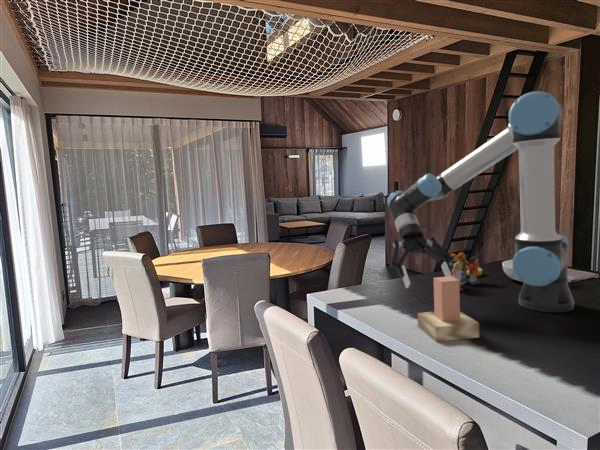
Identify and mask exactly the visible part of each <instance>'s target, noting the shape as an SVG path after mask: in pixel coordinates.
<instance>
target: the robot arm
mask: <svg viewBox="0 0 600 450" xmlns="http://www.w3.org/2000/svg"><path fill="white" fill-rule="evenodd" d="M564 113H565V112H564V108H563V106H562V104H561V102H560V101H558V100H557V99H556V97H555V96H553V95H552V94H550V93H549V92H545V91H530V92H527V93H524V94H522V95H520V96H519V97H518V98H516V100H515V101H514V102H513V103H512V104H511V106H510V109H509V111H508V125H507V127H506V128H505V129H503V130H502V131H500V132H499V133H498V134H496V135H495V136H494V137H491V138H490V139H489V140H487V141H486V142H485V143H482V145H480V146H479V147H477V148H476V149H475V150H472V152H470V153H468V154H467V155H466V156H464V157H463V158H461V159H460V160H458V161H457V162H455V163H454V164H452V165H451V166H449V167H447V169H446V170H444V171H442V172H441V173H439V174H438V175H436V176H435V175H433V174H432V173H426V174H424V175H423V176H422V177H419V178H418V180H417V181H416V182H414V183H413V184H412V185H410V186H409V187H408V188H407V189H406V190H405V191H403V190H396V191H395V192H392V193H390V194H389V195H388V197H387V202H386V203H387V205H388V210H389V212H390V215H391V218H392V219H393V223H394V226H395V229H396V231H397V233H398V237H399V239H400V241H398V240H396V239H395V240H394V242H393V245H392V247H393V251H392V252H393V253H392V256H391V261H390V264H389V268H390V269H392V270H393V269H395V271H396V272H397V274H398V277H399V278H400V279H402V280H403V283H404V286H405V288H406V289H408V288H409V287H410V285H411V281H410V278H409V275H408V272H407V269H406V266H405V265H403V264H404V263H405V260H406V259H407V258H408V256H409V254H411V255H415V254H424V255H426V256H429V257H430V258H431V259H433V260H435V261H437V262H438V263H439V264H441V266H440V267H441V270H442V272H443V275H444V277H448V276H451V277H452V275H451V271H452V269H451V267H450V263H451V261H452V260H453V257H452V256H451V255H450V254H451V253H449V252H448V251H447V250H446V249H444V248H443V247H442V246H441V245H440V244H439V242H437V240H436V239H435V237H433V236H432V237H431V238H429V239H426V238H425V236H424V233H423V230H422V228H421V226H420V223H419V221H418V218H417V216H416V213H415V211H417V210H419V209H420V208H421V207H422V206H424V205H425V204H427V202H432V201H438V200H444V199H445V198H447V197H448V196H450V193H453V191H455V190H456V189H458V188H459V187H461V186H463V185H464V184H466V183H467V182H469V181H470V180H472V179H473V178H475V177H477V176H478V175H480V174H481V173H483V172H484V171H486V170H488V169H489V168H490V167H491V168H492V166H494V165H495V164H497V163H499V162H501V161H502V160H503V159H504V158H506V157H508V156H510V155H511V154H512V153H514V152H516V151H517V150H518V162H519V163H518V167H519V170H518V171H519V176H518V177H519V208H520V209H519V210H520V216H519V217H520V232H519V233H518V234H517V235H516V236H515V238H514V239H515V241H514V242H515V243H514V244H515V248H514V249H515V250H514V251H515V254H514V256H513V258H512V260H513V262H512V266H513V270H514V273H515V274H516V276H517V277H518V278H519V279H520V280H521V281H523V282H522V283H523V285H522V288H521V290H520V292H519V295H518V304H519V305H520V306H521V307H522V308H525V309H528V310H531V311H537V312H543V313H567V312H570V311H572V310H574V308H575V300H574V297H573V294H572V292H571V289H570V287H569V284H568V255H569V254H568V249H569V241H568V237H567V236H566V235H563V234H562V235H561V234H558V233H557V232H556V199H555V198H556V196H555V194H556V192H555V189H556V187H555V185H556V184H555V145H556V144H557V143H559V142H560V141H561V125H562V122H563V120H564ZM401 247H402V248H403V250H404V252H403V253H402V255H401V257H400V259H399V260H398V262H396V261H397V257H398V255H399V249H401ZM521 281H520V282H521Z"/></svg>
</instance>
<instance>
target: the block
mask: <svg viewBox="0 0 600 450" xmlns="http://www.w3.org/2000/svg"><path fill="white" fill-rule="evenodd" d="M460 292H461V291H460ZM460 292H459V280H457V279H455V278H453V277H451V276H448V277H445V276H439V277H438V276H437V277H433V306H434V307H433V308H434V309H433V310H434V316H436V317H437V318H438V319H440V320H441V321H452V320H460V312H461V309H460V308H461V306H460V305H461V304H460V303H461V300H460V297H461V294H460Z"/></svg>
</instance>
